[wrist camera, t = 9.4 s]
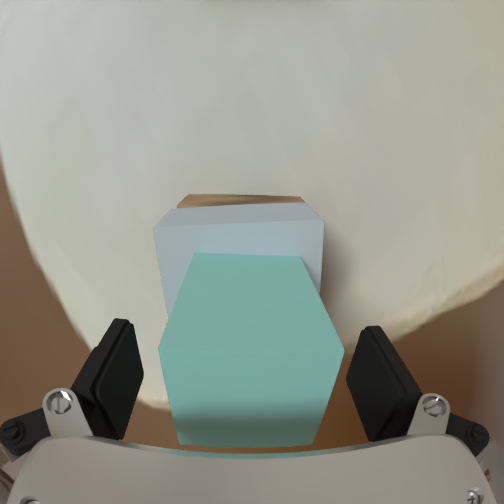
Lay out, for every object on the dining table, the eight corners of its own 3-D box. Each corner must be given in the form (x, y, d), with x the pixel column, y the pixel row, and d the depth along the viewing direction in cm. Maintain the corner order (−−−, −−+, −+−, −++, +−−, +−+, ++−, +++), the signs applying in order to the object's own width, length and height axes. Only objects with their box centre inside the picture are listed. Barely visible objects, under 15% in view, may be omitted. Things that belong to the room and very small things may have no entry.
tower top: (306, 202, 17) (324, 219, 13) (302, 316, 20) (313, 353, 16) (172, 208, 17) (153, 227, 13) (187, 321, 20) (178, 358, 16)
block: (299, 255, 14) (344, 350, 7) (288, 339, 16) (311, 444, 9) (194, 252, 14) (157, 348, 7) (198, 337, 15) (179, 443, 9)
